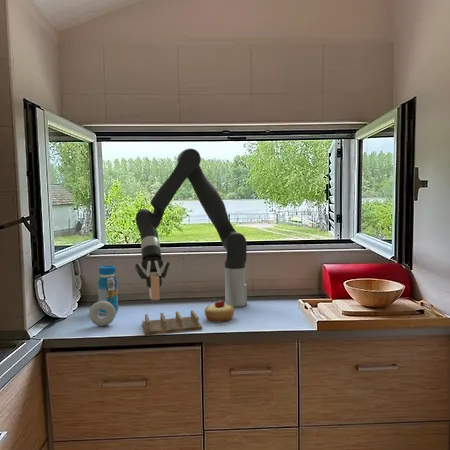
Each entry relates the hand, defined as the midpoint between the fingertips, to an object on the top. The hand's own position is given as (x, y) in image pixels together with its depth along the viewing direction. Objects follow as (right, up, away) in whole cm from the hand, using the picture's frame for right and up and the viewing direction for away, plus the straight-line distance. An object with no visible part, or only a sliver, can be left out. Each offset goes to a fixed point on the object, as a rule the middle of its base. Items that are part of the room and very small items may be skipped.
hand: (154, 286), depth 154 cm
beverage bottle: (-24, -15, +26) cm, 39 cm away
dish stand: (+6, -16, +4) cm, 17 cm away
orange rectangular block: (0, -4, +2) cm, 5 cm away
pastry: (+24, -15, +12) cm, 31 cm away
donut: (-21, -17, +6) cm, 28 cm away
